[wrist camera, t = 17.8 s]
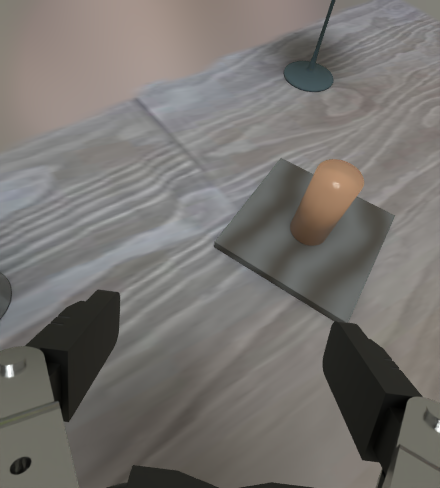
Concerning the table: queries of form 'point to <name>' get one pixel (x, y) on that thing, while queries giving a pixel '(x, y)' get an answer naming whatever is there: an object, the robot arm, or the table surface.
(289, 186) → the charcoal board
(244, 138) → the table surface
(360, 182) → the tan dome-topped cylinder
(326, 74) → the cocktail glass
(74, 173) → the table surface
